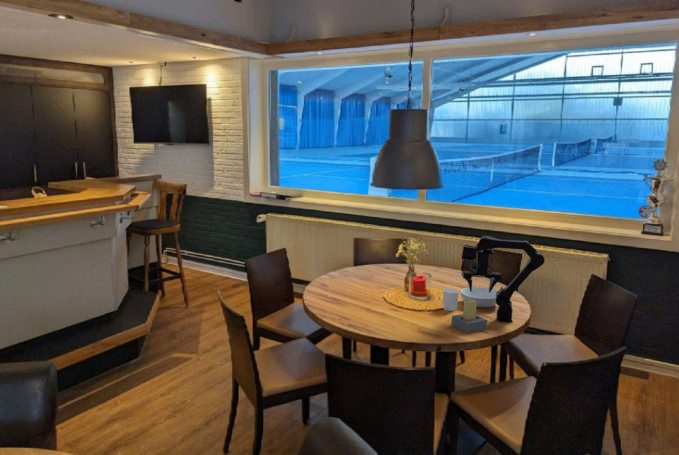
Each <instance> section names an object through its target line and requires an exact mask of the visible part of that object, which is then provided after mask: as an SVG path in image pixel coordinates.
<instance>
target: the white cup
mask: <svg viewBox="0 0 679 455" xmlns="http://www.w3.org/2000/svg"><path fill="white" fill-rule="evenodd" d="M459 293H460V292H459V290H458V289H455V288H451V287H450V288H444V289H443V291H442V305H443V307H442V308H443V310H444V311H447V312H455V311H457V307H458V303H459V302H458V300H459Z"/></svg>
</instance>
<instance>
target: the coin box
mask: <svg viewBox="0 0 679 455" xmlns="http://www.w3.org/2000/svg"><path fill="white" fill-rule="evenodd" d="M487 325H488V319H486V318H484V317H482V316H481V315H478V314H476V319H474V320H468V321H464V320H463V313H460V314H455V315H452V316H451V326H453V327H455V328H456V329H458V330H460V331H462V332H463V333H466V334H467V333H473V332H478V331H482V330H487V328H488V327H487Z"/></svg>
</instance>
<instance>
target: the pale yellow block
mask: <svg viewBox="0 0 679 455" xmlns="http://www.w3.org/2000/svg"><path fill="white" fill-rule="evenodd" d="M476 306H477V301H476V300H473V299H471V300H463V313H462V314H463V320H464V321H468V320H474V319H476V315H477V307H476Z"/></svg>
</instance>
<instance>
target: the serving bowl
mask: <svg viewBox="0 0 679 455" xmlns="http://www.w3.org/2000/svg"><path fill="white" fill-rule="evenodd" d="M498 291H499V290H496V289H494V288H493V289H492V290H491V292H490V293H489V287H481V286H472V291H471V292H470V289H469V286H468V287H464V288H462V289H461V290H460V296H461V299H462V300H463V301H464V300H471V299H473V300H476V301H477V306H476V308H488V307H489V308H490V307H493V306H495V305H497V304H496V292H498Z"/></svg>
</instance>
